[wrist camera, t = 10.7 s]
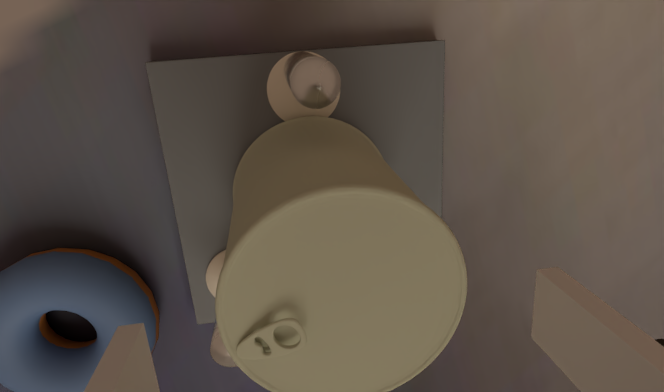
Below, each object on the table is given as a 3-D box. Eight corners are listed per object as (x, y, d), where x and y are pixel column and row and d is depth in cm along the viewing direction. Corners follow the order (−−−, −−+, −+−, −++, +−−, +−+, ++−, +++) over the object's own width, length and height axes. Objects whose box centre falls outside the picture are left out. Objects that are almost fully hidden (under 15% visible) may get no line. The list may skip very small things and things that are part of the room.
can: (202, 158, 25) (156, 266, 14) (354, 88, 25) (428, 140, 14) (276, 285, 29) (285, 451, 17) (409, 224, 28) (503, 353, 17)
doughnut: (42, 205, 26) (-1, 249, 22) (195, 285, 29) (183, 335, 25) (-29, 319, 29) (-80, 376, 24) (119, 379, 32) (97, 438, 28)
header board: (433, 282, 32) (441, 292, 30) (200, 313, 30) (196, 326, 28) (437, 40, 26) (446, 40, 25) (150, 61, 24) (144, 62, 23)
